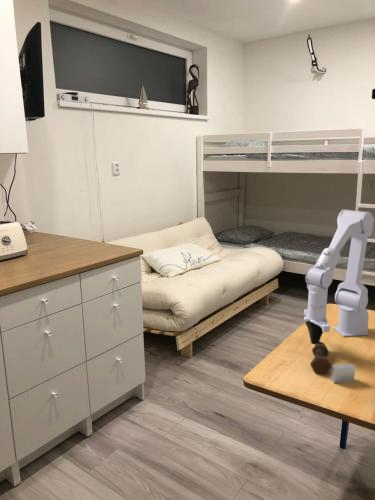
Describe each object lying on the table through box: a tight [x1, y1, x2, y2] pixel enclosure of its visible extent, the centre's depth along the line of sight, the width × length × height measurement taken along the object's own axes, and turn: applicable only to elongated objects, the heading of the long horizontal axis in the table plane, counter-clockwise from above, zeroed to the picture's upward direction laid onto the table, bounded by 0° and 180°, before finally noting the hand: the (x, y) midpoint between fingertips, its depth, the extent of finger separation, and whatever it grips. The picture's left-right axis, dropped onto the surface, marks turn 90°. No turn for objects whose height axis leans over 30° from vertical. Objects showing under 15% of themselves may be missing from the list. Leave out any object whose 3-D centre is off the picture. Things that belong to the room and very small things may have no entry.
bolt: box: [310, 341, 332, 376], centre depth 126 cm, size 6×5×15 cm
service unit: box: [330, 363, 356, 384], centre depth 116 cm, size 6×2×4 cm, turn 98°
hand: (314, 343), depth 134 cm, fingers closed
